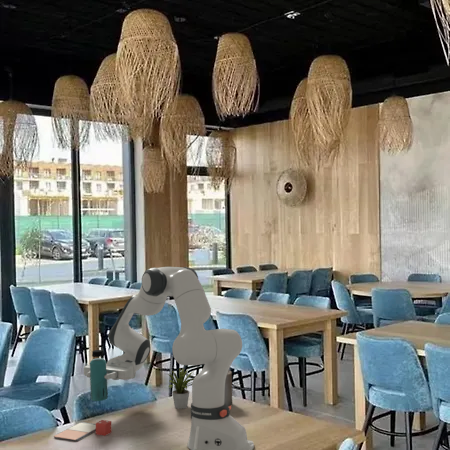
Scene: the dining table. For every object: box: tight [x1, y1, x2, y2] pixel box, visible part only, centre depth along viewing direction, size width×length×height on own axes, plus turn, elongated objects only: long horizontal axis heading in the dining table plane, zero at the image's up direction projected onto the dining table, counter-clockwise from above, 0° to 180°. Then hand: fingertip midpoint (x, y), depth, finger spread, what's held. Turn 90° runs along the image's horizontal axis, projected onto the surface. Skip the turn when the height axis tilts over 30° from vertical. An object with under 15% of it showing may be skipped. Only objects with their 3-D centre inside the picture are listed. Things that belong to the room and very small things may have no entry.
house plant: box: [164, 366, 196, 410], centre depth 243 cm, size 14×14×16 cm
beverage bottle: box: [89, 349, 109, 402], centre depth 226 cm, size 6×7×20 cm
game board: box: [53, 421, 96, 442], centre depth 214 cm, size 10×17×1 cm, turn 158°
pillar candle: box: [224, 369, 233, 407], centre depth 247 cm, size 10×10×15 cm
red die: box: [95, 419, 112, 437], centre depth 213 cm, size 4×4×4 cm
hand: (97, 376), depth 225 cm, fingers closed on beverage bottle, 6 cm apart
